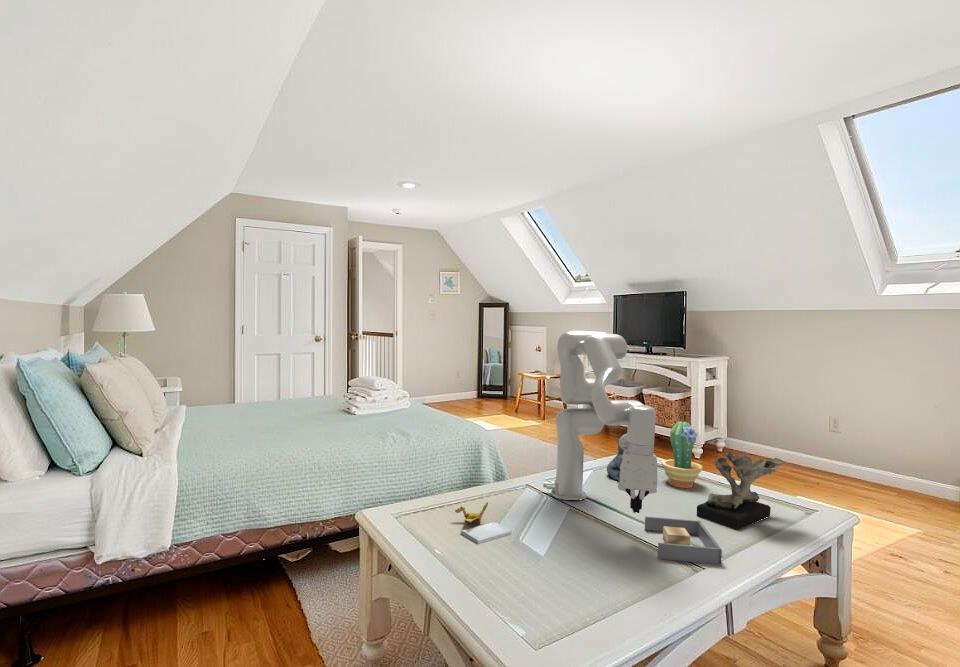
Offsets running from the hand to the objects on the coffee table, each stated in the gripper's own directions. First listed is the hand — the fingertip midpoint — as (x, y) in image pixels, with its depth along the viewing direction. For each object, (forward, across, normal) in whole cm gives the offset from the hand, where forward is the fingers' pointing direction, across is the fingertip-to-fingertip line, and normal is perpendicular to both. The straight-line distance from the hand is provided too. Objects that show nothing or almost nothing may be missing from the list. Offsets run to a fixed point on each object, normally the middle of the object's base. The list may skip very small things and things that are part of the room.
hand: (635, 511), depth 147 cm
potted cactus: (+10, +28, +60) cm, 67 cm away
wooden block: (+9, +12, 0) cm, 15 cm away
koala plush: (+11, +8, +63) cm, 64 cm away
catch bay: (+8, +13, -1) cm, 15 cm away
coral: (+9, +40, +26) cm, 48 cm away
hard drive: (+10, -42, -5) cm, 44 cm away
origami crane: (+10, -47, +2) cm, 48 cm away
